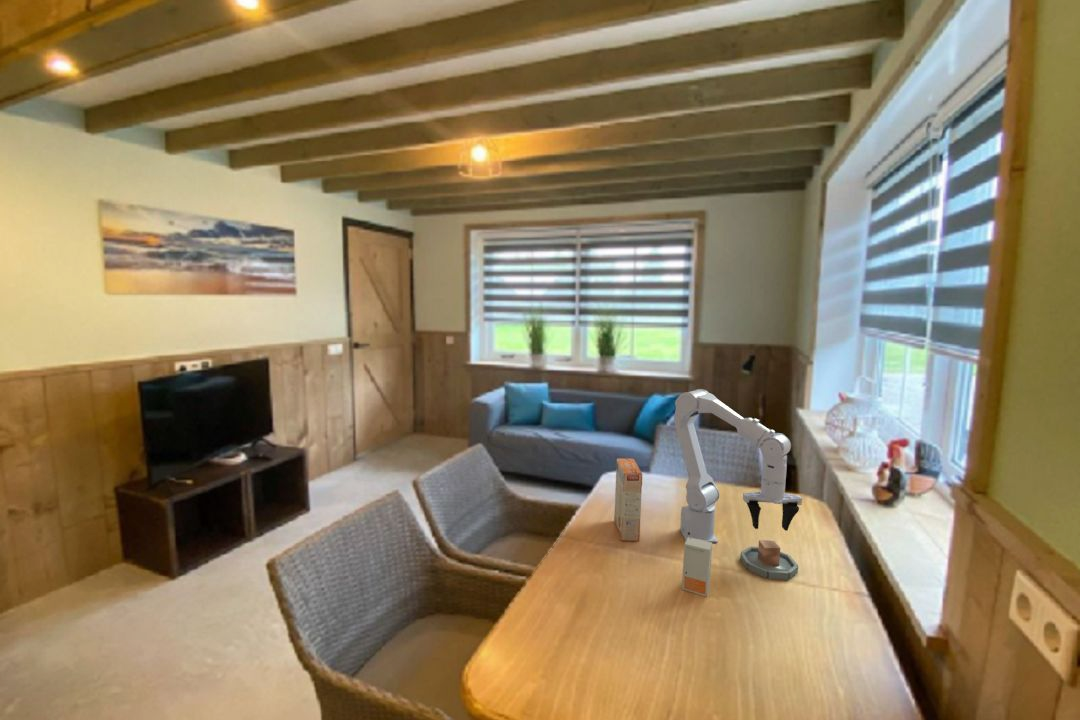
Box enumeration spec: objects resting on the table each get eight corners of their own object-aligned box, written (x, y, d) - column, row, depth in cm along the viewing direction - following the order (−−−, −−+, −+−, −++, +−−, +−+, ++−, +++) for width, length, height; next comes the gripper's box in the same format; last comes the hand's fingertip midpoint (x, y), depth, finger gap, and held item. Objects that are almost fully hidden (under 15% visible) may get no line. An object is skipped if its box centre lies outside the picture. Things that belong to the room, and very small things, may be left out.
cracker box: (640, 542, 139) (643, 473, 137) (620, 541, 139) (622, 472, 137) (632, 520, 153) (634, 457, 151) (613, 520, 153) (615, 457, 151)
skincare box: (681, 590, 116) (683, 543, 114) (684, 581, 119) (687, 536, 118) (707, 597, 113) (710, 549, 111) (710, 588, 117) (712, 542, 115)
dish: (751, 577, 121) (752, 571, 121) (735, 551, 134) (735, 545, 134) (804, 580, 120) (805, 574, 120) (783, 554, 133) (783, 548, 133)
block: (763, 565, 125) (764, 547, 125) (757, 557, 129) (758, 539, 129) (779, 566, 125) (780, 548, 124) (772, 558, 129) (774, 540, 128)
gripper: (750, 483, 124) (747, 533, 125) (808, 486, 122) (804, 536, 124) (741, 474, 131) (738, 521, 132) (796, 476, 129) (793, 524, 131)
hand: (769, 528), depth 128 cm, fingers open, 7 cm apart
